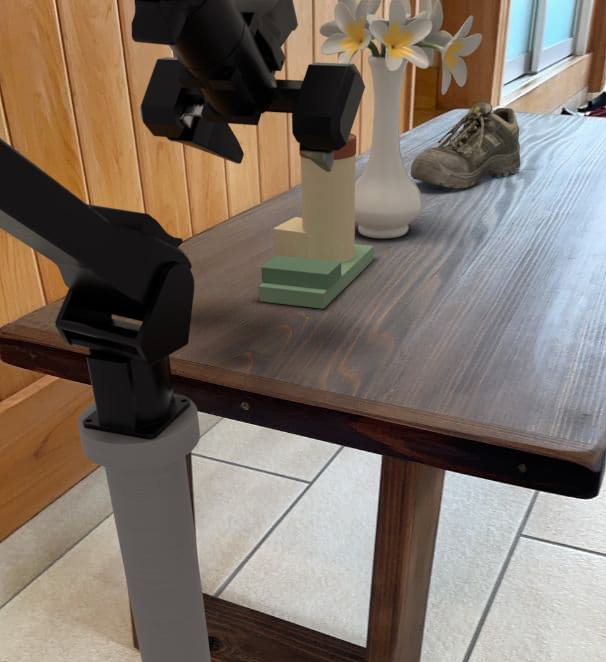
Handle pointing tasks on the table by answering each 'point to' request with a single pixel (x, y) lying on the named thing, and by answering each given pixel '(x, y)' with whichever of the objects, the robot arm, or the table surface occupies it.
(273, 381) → the table surface
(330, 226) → the brown-capped cream cylinder
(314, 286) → the green stepped slab
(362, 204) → the flower vase
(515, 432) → the table surface
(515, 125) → the hiking shoe
